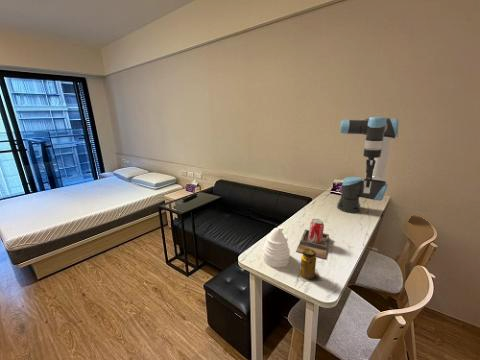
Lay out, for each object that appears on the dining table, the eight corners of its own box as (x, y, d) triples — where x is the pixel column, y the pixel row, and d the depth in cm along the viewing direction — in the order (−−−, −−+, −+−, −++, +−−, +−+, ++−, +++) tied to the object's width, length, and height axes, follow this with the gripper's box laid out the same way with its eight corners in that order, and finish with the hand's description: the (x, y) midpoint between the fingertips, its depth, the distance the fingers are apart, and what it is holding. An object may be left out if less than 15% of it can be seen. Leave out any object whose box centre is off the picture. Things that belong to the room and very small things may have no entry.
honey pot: (294, 257, 110) (295, 224, 104) (280, 271, 100) (282, 236, 95) (271, 247, 118) (272, 217, 112) (257, 260, 108) (257, 227, 103)
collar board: (304, 234, 131) (304, 228, 130) (329, 239, 125) (330, 234, 124) (296, 253, 114) (296, 247, 113) (324, 260, 108) (325, 254, 107)
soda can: (306, 238, 123) (308, 218, 121) (318, 238, 124) (321, 218, 121) (310, 244, 117) (313, 223, 114) (323, 245, 117) (326, 224, 114)
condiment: (297, 269, 101) (299, 246, 98) (316, 269, 101) (318, 246, 98) (301, 281, 94) (303, 257, 91) (322, 281, 94) (324, 257, 91)
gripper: (383, 153, 99) (375, 198, 105) (380, 145, 120) (374, 183, 126) (363, 152, 102) (357, 195, 109) (364, 144, 123) (359, 181, 130)
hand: (366, 188), depth 117 cm, fingers open, 13 cm apart
